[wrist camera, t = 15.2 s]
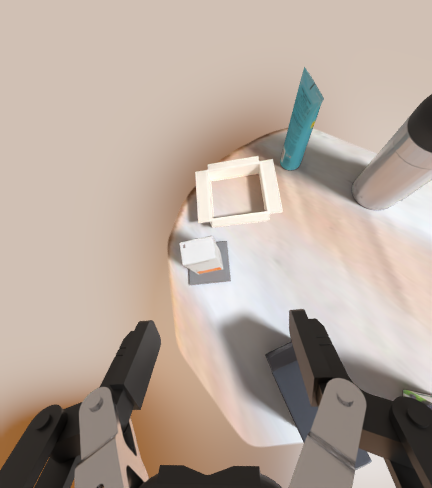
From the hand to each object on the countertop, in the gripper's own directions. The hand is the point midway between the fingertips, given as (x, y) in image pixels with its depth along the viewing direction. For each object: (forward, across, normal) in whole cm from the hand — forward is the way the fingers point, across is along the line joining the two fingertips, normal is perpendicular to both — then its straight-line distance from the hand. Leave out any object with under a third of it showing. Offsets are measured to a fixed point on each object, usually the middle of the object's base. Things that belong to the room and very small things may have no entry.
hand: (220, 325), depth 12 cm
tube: (+47, -16, 0) cm, 50 cm away
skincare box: (+30, +6, +15) cm, 34 cm away
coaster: (+31, +6, +16) cm, 35 cm away
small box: (+14, -9, +33) cm, 37 cm away
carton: (+41, -2, +5) cm, 42 cm away
